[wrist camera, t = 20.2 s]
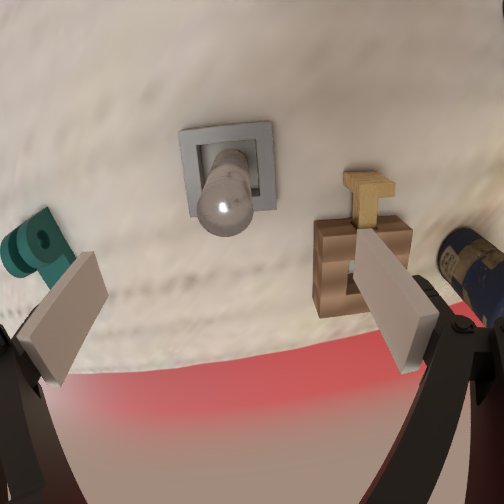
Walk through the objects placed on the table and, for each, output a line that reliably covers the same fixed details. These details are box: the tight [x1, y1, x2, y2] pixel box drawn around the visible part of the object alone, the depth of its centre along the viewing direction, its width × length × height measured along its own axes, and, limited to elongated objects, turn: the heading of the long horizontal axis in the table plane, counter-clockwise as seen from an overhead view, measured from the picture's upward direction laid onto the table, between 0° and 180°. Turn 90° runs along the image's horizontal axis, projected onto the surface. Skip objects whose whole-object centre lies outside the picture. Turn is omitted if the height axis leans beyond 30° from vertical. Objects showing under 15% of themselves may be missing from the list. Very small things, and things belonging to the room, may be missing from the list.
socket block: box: [312, 216, 413, 318], centre depth 40 cm, size 12×12×5 cm
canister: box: [438, 229, 504, 328], centre depth 35 cm, size 10×10×18 cm
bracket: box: [0, 207, 76, 290], centre depth 38 cm, size 18×7×8 cm, turn 20°
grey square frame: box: [178, 121, 277, 217], centre depth 35 cm, size 10×10×3 cm
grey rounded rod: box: [197, 149, 253, 237], centre depth 29 cm, size 4×4×16 cm
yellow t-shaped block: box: [344, 171, 395, 230], centre depth 36 cm, size 10×4×6 cm, turn 4°
